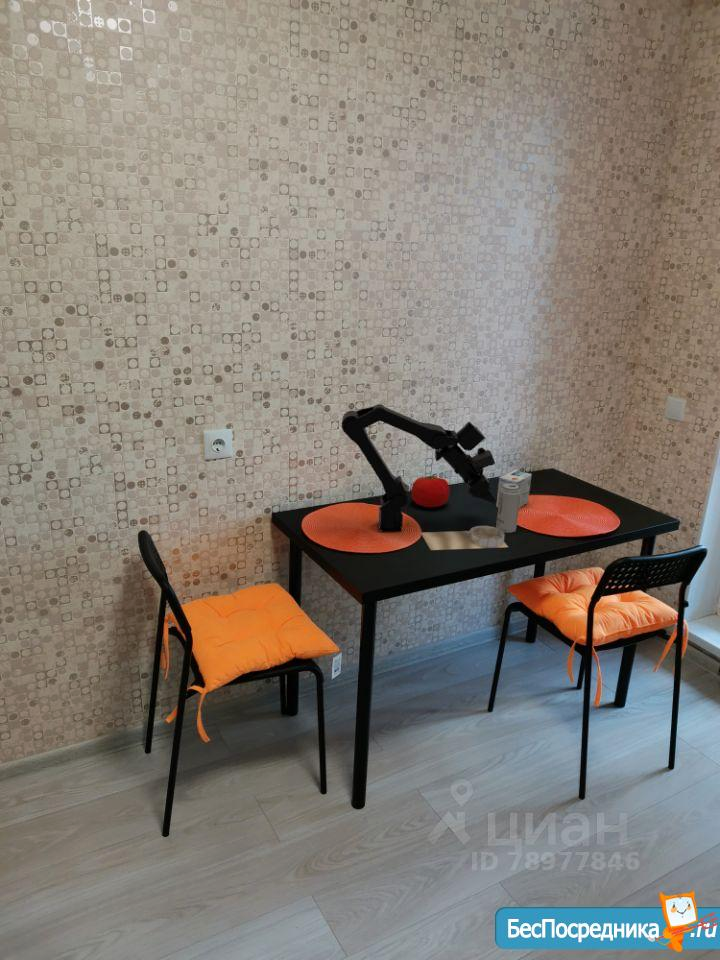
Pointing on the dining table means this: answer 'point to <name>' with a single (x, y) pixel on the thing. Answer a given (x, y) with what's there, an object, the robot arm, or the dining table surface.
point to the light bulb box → (520, 480)
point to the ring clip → (486, 541)
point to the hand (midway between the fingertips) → (492, 496)
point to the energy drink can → (508, 507)
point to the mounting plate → (452, 540)
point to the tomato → (430, 491)
